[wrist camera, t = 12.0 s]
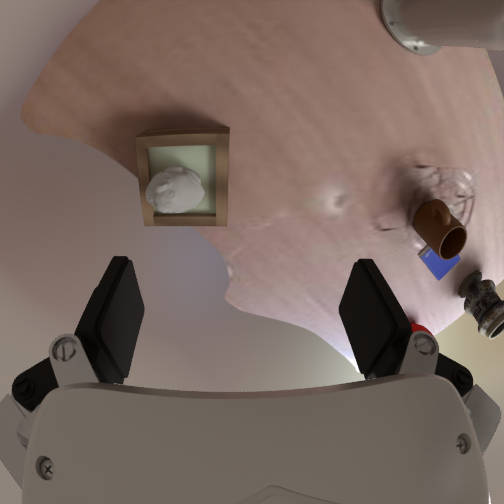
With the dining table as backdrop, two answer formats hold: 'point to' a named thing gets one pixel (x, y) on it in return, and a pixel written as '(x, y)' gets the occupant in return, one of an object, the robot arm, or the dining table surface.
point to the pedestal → (195, 158)
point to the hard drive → (437, 262)
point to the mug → (440, 229)
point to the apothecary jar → (483, 304)
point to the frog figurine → (175, 190)
